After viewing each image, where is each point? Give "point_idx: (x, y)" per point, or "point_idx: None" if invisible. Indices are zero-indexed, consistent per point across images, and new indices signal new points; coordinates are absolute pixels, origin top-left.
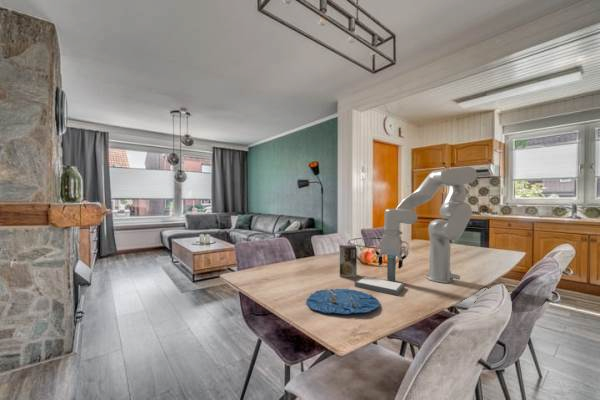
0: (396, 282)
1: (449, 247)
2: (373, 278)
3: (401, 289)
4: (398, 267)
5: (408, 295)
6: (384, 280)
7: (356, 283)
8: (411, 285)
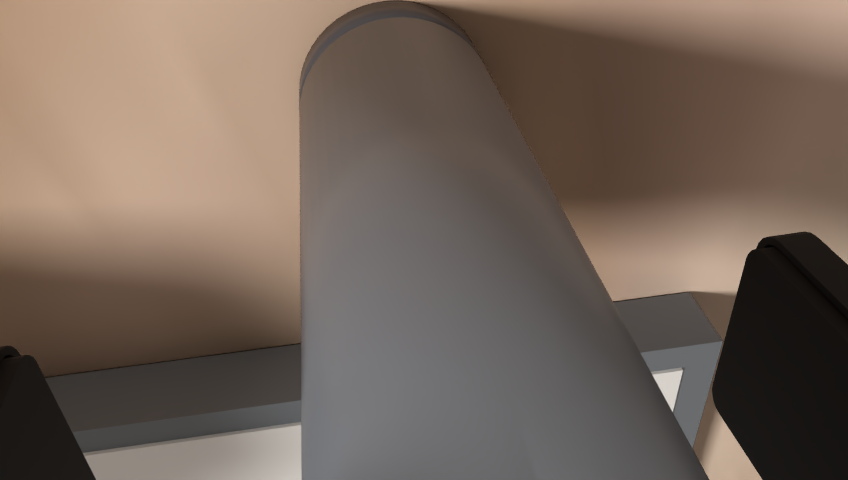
0: None
1: None
2: (169, 454)
3: None
4: (726, 416)
5: (743, 463)
6: None
7: None
8: (811, 92)
